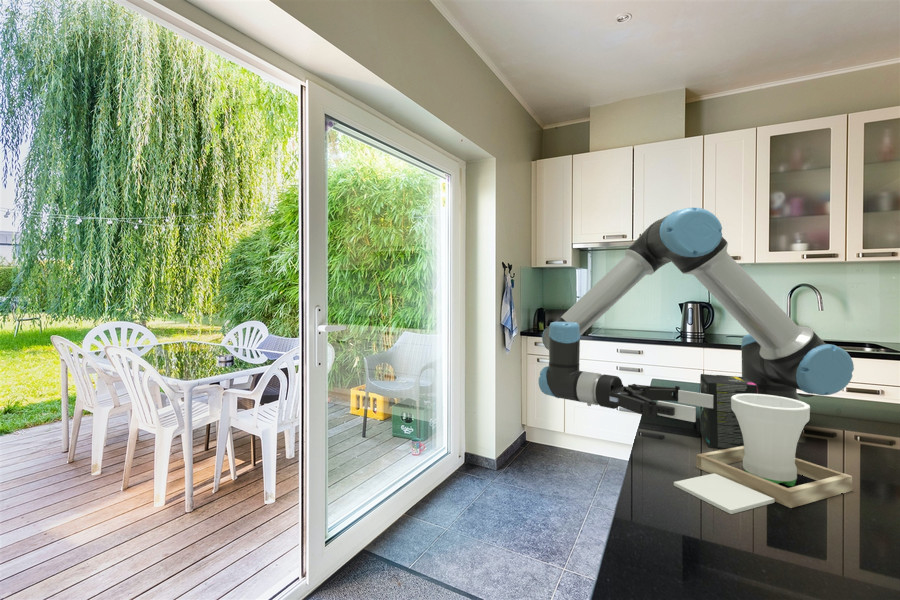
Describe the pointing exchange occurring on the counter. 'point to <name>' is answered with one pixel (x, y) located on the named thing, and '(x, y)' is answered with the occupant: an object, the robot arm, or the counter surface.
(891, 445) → the counter surface
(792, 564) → the counter surface
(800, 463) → the birch frame
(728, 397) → the tampon box
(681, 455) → the counter surface
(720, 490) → the felt mat
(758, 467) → the cup
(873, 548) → the counter surface
